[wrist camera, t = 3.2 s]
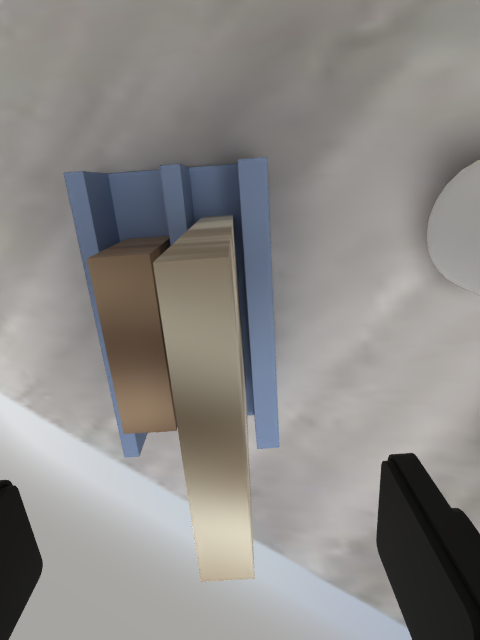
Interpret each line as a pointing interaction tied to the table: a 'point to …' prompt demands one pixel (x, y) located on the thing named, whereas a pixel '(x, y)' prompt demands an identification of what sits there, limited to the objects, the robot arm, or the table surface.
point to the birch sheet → (209, 392)
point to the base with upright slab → (457, 230)
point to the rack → (174, 220)
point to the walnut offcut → (134, 332)
